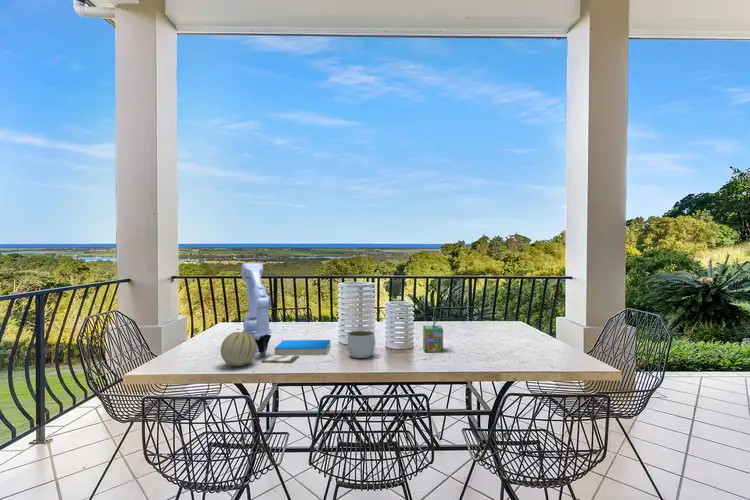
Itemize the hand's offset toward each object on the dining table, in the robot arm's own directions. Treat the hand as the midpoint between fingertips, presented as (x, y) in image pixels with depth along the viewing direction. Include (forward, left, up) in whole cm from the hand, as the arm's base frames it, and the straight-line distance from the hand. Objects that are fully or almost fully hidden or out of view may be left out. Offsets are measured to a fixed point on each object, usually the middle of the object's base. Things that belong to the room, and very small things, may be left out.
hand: (262, 351), depth 179 cm
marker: (0, 0, -3) cm, 3 cm away
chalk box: (+80, +19, -3) cm, 82 cm away
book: (+16, +14, -3) cm, 21 cm away
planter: (+46, +5, -3) cm, 46 cm away
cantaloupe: (-5, -14, -3) cm, 15 cm away
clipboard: (+10, -3, -3) cm, 11 cm away
